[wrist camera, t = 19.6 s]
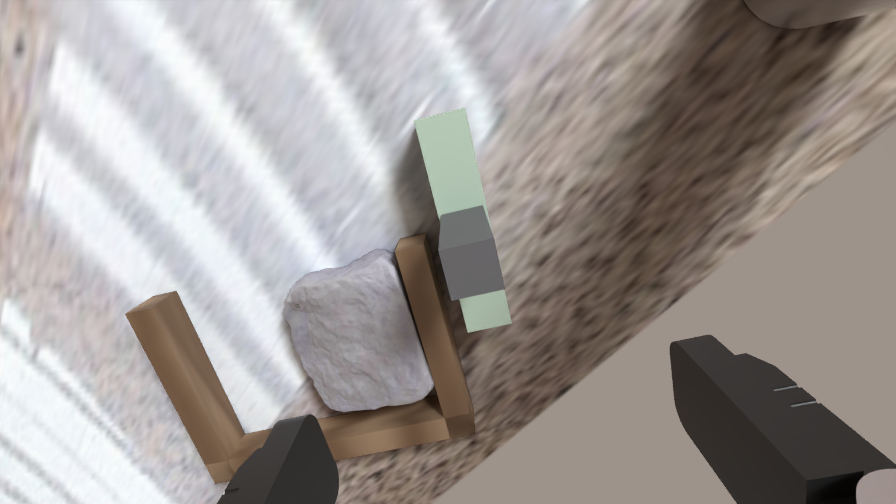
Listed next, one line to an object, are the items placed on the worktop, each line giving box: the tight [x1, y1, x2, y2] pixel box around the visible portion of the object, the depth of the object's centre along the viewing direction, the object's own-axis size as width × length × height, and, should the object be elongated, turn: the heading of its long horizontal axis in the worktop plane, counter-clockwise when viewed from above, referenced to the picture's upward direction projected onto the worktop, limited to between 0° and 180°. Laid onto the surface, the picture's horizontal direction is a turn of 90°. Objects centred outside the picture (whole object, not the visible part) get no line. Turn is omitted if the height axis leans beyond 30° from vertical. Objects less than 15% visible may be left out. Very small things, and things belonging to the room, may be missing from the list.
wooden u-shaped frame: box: [125, 233, 475, 484], centre depth 34 cm, size 22×16×3 cm
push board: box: [414, 108, 512, 333], centre depth 26 cm, size 14×3×12 cm, turn 14°
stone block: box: [283, 249, 435, 412], centre depth 33 cm, size 12×5×10 cm
